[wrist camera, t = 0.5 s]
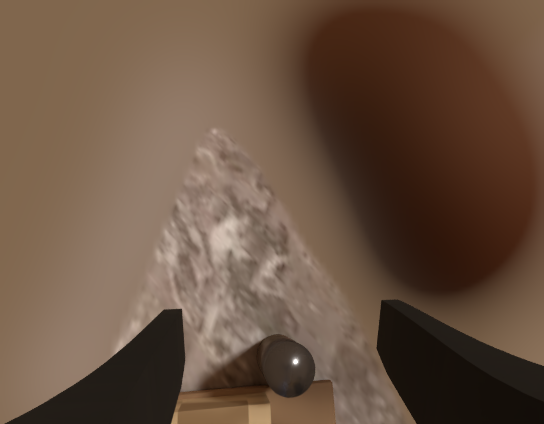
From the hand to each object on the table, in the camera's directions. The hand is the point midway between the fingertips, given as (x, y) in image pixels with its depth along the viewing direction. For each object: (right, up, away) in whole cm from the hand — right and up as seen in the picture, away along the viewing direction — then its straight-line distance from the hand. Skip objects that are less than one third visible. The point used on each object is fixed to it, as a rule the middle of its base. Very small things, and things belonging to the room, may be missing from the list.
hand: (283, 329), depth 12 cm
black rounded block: (0, -10, +21) cm, 23 cm away
